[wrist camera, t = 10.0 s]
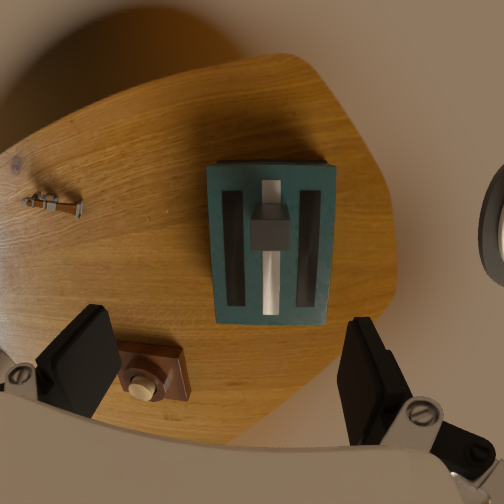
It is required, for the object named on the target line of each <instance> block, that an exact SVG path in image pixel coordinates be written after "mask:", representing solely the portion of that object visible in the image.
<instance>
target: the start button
mask: <svg viewBox="0 0 504 504" xmlns="http://www.w3.org/2000/svg"><path fill="white" fill-rule="evenodd" d="M155 389H156V387H155V384H154V383H153V382H152V381H151V380H150V379H148V378H146V377H144V376H141V375H137V376H135V377H134V378H133V380H132V381H131V383H130V385H129V392H130V393H131V394H132V395H133V396H134V397H135V398H137V399H139V400H141V401H149V400H150V399H151V398H152V396H153V393H154V391H155Z"/></svg>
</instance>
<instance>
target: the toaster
mask: <svg viewBox="0 0 504 504" xmlns="http://www.w3.org/2000/svg"><path fill="white" fill-rule="evenodd" d="M206 174H207V197H208V217H209V235H210V251H211V265H212V279H213V292H214V304H215V316H216V323H219V324H244V325H325V323H326V314H327V305H328V296H329V286H330V276H331V264H332V251H333V237H334V220H335V199H336V166H334V165H330V164H327V161H320V160H221V161H217V164H213V165H209V166H206ZM256 204H287V206H288V211H289V216H290V251H251V242H250V219H251V216H252V213H253V211H254V208H255V205H256Z"/></svg>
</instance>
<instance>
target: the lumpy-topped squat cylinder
mask: <svg viewBox="0 0 504 504" xmlns="http://www.w3.org/2000/svg"><path fill="white" fill-rule="evenodd" d="M14 365H15V363H14V362H13V361H12V360H11V359H10V358H9V357H8V356H7V355H6V354H5V353H3V352H1V353H0V384H1V383H5V376H6V373H7V371H8V370H9V369H10V368H11V367H13V366H14Z"/></svg>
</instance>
